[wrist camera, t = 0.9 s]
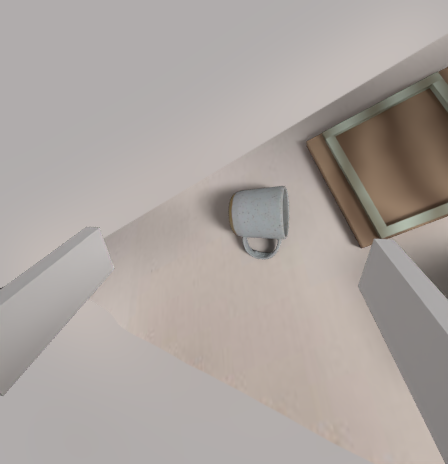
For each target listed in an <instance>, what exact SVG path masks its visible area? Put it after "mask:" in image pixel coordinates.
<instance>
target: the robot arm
mask: <svg viewBox="0 0 448 464" xmlns="http://www.w3.org/2000/svg"><path fill="white" fill-rule="evenodd" d="M113 270H114V266H113V263H112V260H111V258H110V255H109V252H108V249H107V247H106V244H105V241H104V238H103V235H102V233H101V230H100V227H86V228H84V229H83V230H82V231H80V232H79V233H78V234H76V235H75V236H73V237H72V238H70V239H69V240H68V241H66V242H65V243H64V244H62V245H61V246H60V247H58V248H57V249H55V250H54V251H53V252H51V253H50V254H48V255H47V256H46V257H44V258H43V259H42V260H40V261H39V262H37V263H36V264H35V265H33V266H32V267H31V268H29V269H28V270H26V271H25V272H24V273H22V274H21V275H20V276H18V277H17V278H15V279H14V280H13V281H11V282H10V283H9V284H7V285H6V286H4V287H2V288H0V395H1V396H3V395H5V394H6V392H7V391H8V390H9V389H10V388H11V387H12V386H13V384H14V383H15V382H16V381H17V380H18V379H19V377H20V376H21V375H22V374H23V373H24V372H25V371H26V370H27V368H28V367H29V366H30V365H31V364H32V363H33V362H34V360H35V359H36V358H37V357H38V356H39V355H40V353H41V352H42V351H43V350H44V349H45V348H46V347H47V345H48V344H49V343H50V342H51V341H52V340H53V339H54V338H55V336H56V335H57V334H58V333H59V332H60V331H61V330H62V328H63V327H64V326H65V325H66V324H67V323H68V321H69V320H70V319H71V318H72V317H73V316H74V315H75V314H76V312H77V311H78V310H79V309H80V308H81V307H82V305H83V304H84V303H85V302H86V301H87V300H88V299H89V298H90V296H91V295H92V294H93V293H94V292H95V291H96V290H97V288H98V287H99V286H100V285H101V284H102V283H103V282H104V280H105V279H106V278H107V277H108V276H109V275H110V274H111V272H112V271H113ZM358 287H359V289H360V291H361V293H362V295H363V297H364V299H365V301H366V303H367V305H368V307H369V309H370V311H371V314H372V316H373V318H374V320H375V322H376V324H377V326H378V328H379V330H380V332H381V334H382V336H383V338H384V340H385V342H386V344H387V346H388V348H389V350H390V352H391V354H392V356H393V358H394V360H395V362H396V364H397V366H398V368H399V370H400V372H401V374H402V376H403V378H404V381H405V383H406V385H407V387H408V389H409V391H410V393H411V395H412V397H413V399H414V401H415V403H416V405H417V407H418V409H419V411H420V413H421V415H422V417H423V419H424V421H425V423H426V425H427V427H428V429H429V431H430V433H431V435H432V437H433V439H434V441H435V443H436V445H437V448H438V450H439V452H440V454H441V456H442V458H443V460H444V462H445V464H448V299H447V298H446V297H445V296H444V295H443V294H442V293H441V292H440V290H439V289H438V288H437V287H436V286H435V285H434V284H433V283H432V282H431V280H430V279H429V278H428V277H427V276H426V275H425V274H424V273H423V272H422V270H421V269H420V268H419V267H418V266H417V265H416V264H415V263H414V262H413V261H412V259H411V258H410V257H409V256H408V255H407V254H406V253H405V252H404V251H403V249H402V248H401V247H400V246H399V245H398V244H397V243H396V242H395V241H394V239H374V240H373V243H372V246H371V249H370V252H369V255H368V258H367V261H366V264H365V267H364V270H363V273H362V276H361V279H360V282H359V285H358Z"/></svg>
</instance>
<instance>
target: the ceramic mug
mask: <svg viewBox="0 0 448 464" xmlns="http://www.w3.org/2000/svg"><path fill="white" fill-rule="evenodd" d="M229 222H230V227H231V229H232V231H233V232H234V233H235V234H236V235H238V236H242V237H243V239H242V240H243V245H244V248H245V250H246V251H247V252H248V253H249V254H250V255H251V256H252V257H255V258H257V259H269V258H271V257H273V256H274V255H275V254H276V253H277V251H278V250H279V247H280V244H281V240H282V239H286V238H287V235H288V228H289V201H288V193H287V189H286V187H285V186H279V187H270V188H261V189H252V190H244V191H240V192H237V193H235V194H234V195H233V196H232V197H231V200H230V203H229ZM247 237H251V238H273V239H278V244H277V247H276V249H275V250H274V251H273V252H272V253H262V252H258V251H253V250H252V249H251V248H250V246H249V244H248V241H247Z"/></svg>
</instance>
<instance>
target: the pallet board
mask: <svg viewBox="0 0 448 464" xmlns="http://www.w3.org/2000/svg"><path fill="white" fill-rule="evenodd" d="M307 147H308V149H309V151H310V153H311V155H312V157H313V159H314V161H315V162H316V164H317V166H318V168H319V170H320V172H321V174H322V176H323V177H324V179H325V181H326V183H327V185H328V187H329V189H330V191H331V192H332V194H333V196H334V198H335V200H336V202H337V204H338V206H339V208H340V209H341V211H342V213H343V215H344V217H345V219H346V221H347V223H348V224H349V226H350V228H351V230H352V232H353V234H354V236H355V238H356V239H357V241H358V243H359V245H360V247H361V248H364V247H367V246H369V245H372V243H373V240H374V239H388V238H391V237H393V236H396V235H399V234H401V233H404V232H407V231H409V230H412V229H415V228H418V227H420V226H423V225H426V224H428V223H431V222H434V221H436V220H439V219H442V218H444V217H447V216H448V67H447V68H445V69H443V70H441V71H439V72H436V73H434V74H432V75H430V76H428V77H426V78H425V79H423V80H421V81H419V82H417V83H415V84H413V85H411V86H409V87H408V88H406V89H404V90H402V91H400V92H398V93H396V94H394V95H392V96H390V97H389V98H387V99H385V100H383V101H381V102H379V103H377V104H375V105H373V106H372V107H370V108H368V109H366V110H364V111H362V112H360V113H358V114H356V115H355V116H353V117H351V118H349V119H347V120H345V121H343V122H341V123H339V124H337V125H336V126H334V127H332V128H330V129H328V130H326V131H324V132H322V133H321V134H319V135H318V136H316V137H314V138H312V139H310V140H308V141H307Z"/></svg>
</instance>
